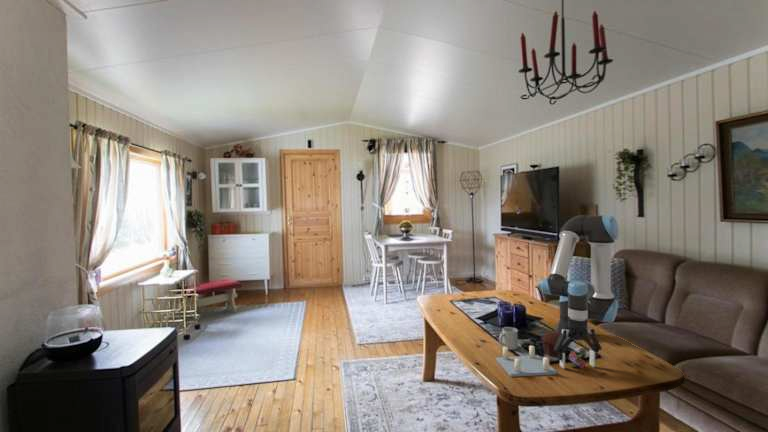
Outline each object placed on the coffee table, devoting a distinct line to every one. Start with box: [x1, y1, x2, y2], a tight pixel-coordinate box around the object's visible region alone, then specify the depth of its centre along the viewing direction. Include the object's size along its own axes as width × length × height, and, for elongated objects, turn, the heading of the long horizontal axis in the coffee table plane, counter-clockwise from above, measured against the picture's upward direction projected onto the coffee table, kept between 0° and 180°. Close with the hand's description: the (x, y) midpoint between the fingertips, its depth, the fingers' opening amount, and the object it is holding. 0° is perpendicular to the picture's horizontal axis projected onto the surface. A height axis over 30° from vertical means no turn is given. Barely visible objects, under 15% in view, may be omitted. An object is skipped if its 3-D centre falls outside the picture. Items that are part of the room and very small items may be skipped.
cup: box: [498, 326, 519, 351], centre depth 179 cm, size 7×10×9 cm
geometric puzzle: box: [568, 351, 587, 371], centre depth 157 cm, size 7×7×8 cm
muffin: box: [541, 330, 567, 358], centre depth 172 cm, size 12×11×10 cm
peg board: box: [495, 345, 558, 378], centre depth 158 cm, size 20×16×6 cm
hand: (577, 366), depth 157 cm, fingers open, 13 cm apart
